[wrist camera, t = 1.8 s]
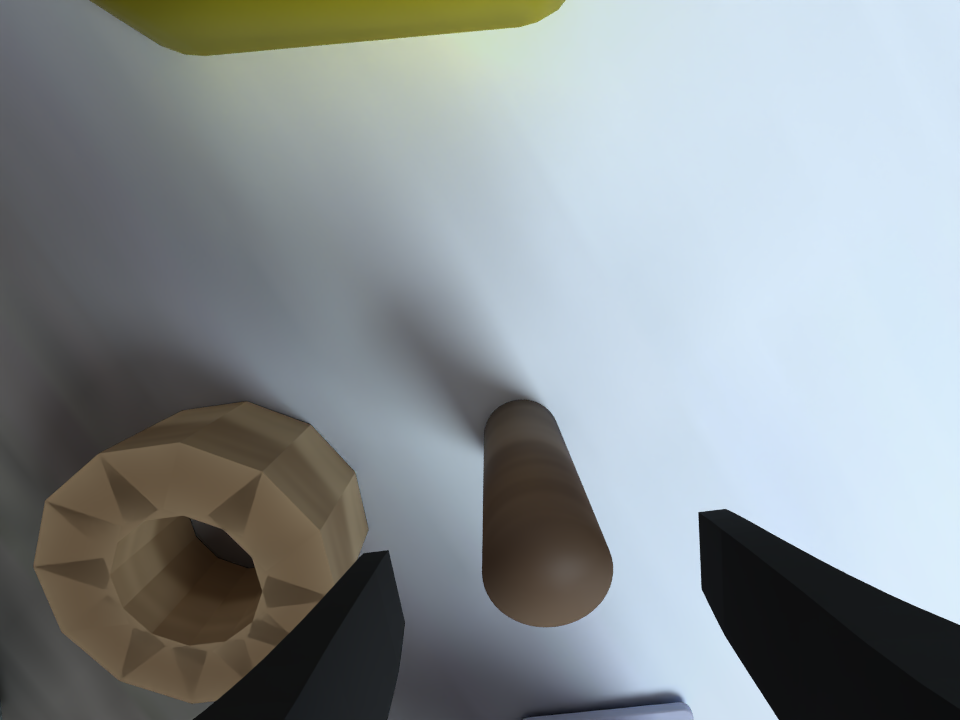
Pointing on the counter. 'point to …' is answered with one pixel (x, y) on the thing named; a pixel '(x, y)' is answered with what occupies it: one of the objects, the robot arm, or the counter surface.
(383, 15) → the element tile
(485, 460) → the peg
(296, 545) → the bead
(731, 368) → the counter surface
